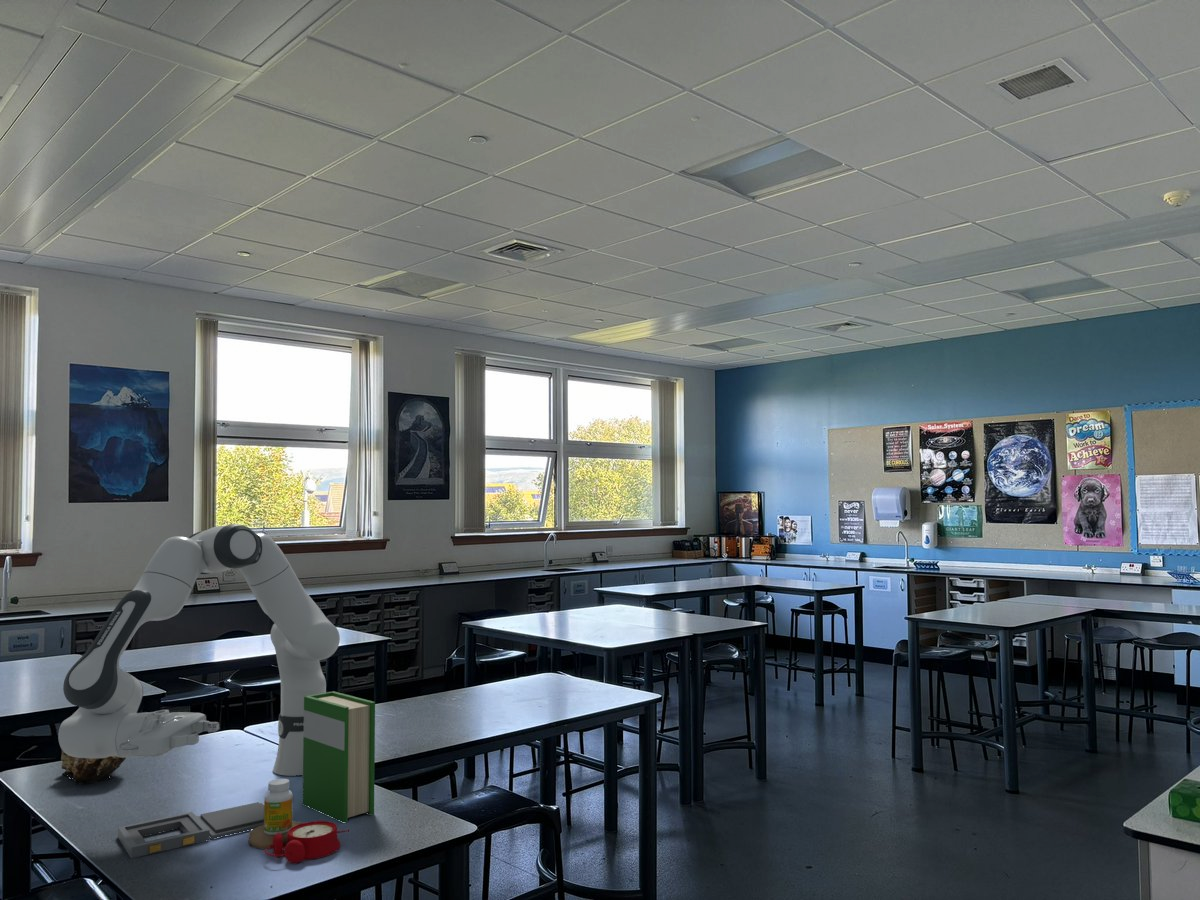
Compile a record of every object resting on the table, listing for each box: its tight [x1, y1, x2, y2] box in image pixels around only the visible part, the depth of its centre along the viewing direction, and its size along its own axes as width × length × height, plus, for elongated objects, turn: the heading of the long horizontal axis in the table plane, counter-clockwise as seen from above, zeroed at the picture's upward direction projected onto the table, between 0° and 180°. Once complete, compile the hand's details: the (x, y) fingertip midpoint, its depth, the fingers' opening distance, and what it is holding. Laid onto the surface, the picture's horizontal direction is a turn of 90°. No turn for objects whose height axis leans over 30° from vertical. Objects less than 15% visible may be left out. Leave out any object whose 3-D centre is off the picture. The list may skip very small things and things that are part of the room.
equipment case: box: [117, 801, 264, 859], centre depth 178 cm, size 28×15×2 cm, turn 129°
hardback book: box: [302, 690, 376, 823], centre depth 191 cm, size 18×7×24 cm, turn 47°
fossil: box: [60, 749, 127, 785], centre depth 216 cm, size 23×14×15 cm, turn 46°
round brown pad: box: [248, 820, 303, 850], centre depth 174 cm, size 11×11×2 cm
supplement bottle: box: [263, 778, 294, 835], centre depth 174 cm, size 5×5×10 cm
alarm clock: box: [264, 820, 351, 864], centre depth 167 cm, size 10×6×15 cm
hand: (207, 732), depth 179 cm, fingers open, 8 cm apart
